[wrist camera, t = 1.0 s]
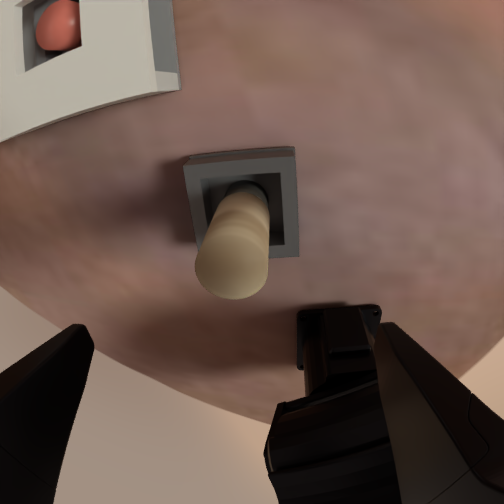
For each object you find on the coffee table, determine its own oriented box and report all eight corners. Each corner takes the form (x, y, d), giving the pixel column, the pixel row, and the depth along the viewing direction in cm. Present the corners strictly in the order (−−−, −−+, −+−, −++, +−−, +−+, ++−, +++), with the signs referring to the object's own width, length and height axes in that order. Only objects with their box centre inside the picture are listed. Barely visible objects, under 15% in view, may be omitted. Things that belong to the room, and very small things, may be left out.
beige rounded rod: (271, 221, 19) (270, 298, 13) (225, 224, 19) (201, 300, 13) (268, 176, 18) (265, 235, 11) (219, 180, 18) (188, 239, 12)
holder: (298, 240, 20) (301, 257, 18) (205, 245, 21) (198, 263, 19) (294, 146, 17) (297, 154, 15) (190, 155, 18) (180, 164, 16)
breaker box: (181, 89, 16) (151, 92, 12) (37, 129, 17) (-9, 145, 13) (167, -65, 11) (138, -97, 6) (26, -4, 12) (-18, -10, 7)
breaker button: (98, 41, 13) (79, 38, 11) (57, 57, 13) (37, 57, 11) (95, -3, 11) (77, -9, 10) (55, 15, 12) (35, 13, 10)
